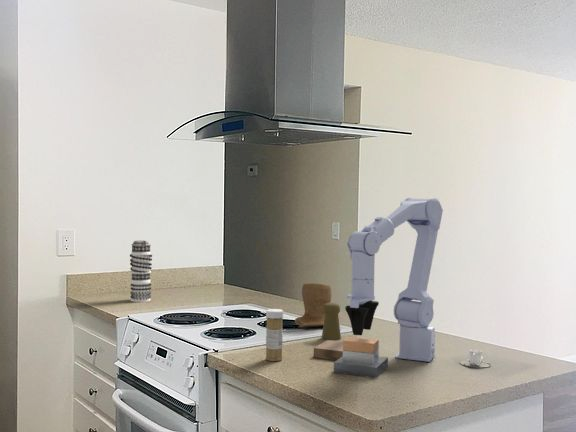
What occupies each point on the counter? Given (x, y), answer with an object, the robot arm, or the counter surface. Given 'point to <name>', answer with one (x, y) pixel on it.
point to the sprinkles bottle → (274, 334)
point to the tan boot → (314, 304)
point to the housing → (360, 350)
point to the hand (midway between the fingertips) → (362, 332)
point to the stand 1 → (329, 350)
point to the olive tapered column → (331, 322)
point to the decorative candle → (140, 271)
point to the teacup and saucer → (475, 356)
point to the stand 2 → (361, 367)
